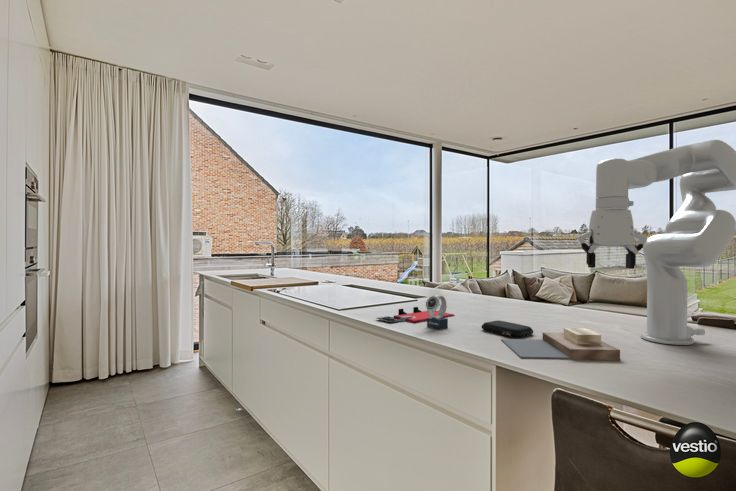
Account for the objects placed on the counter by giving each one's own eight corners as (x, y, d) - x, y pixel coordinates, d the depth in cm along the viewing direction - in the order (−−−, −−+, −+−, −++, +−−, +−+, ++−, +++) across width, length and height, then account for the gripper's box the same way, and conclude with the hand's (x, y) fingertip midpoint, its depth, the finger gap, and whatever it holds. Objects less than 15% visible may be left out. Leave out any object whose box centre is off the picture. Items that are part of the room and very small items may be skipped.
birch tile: (585, 337, 110) (585, 328, 110) (600, 344, 102) (601, 334, 102) (563, 336, 110) (563, 327, 110) (577, 344, 102) (577, 334, 102)
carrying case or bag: (476, 331, 129) (515, 341, 117) (476, 322, 129) (515, 331, 117) (497, 327, 135) (536, 336, 123) (497, 318, 135) (536, 326, 123)
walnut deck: (584, 341, 115) (584, 333, 115) (620, 359, 97) (620, 349, 97) (542, 340, 115) (542, 332, 115) (570, 359, 97) (570, 349, 97)
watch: (423, 327, 134) (423, 295, 134) (438, 324, 139) (438, 293, 139) (436, 330, 129) (436, 297, 129) (451, 326, 135) (451, 295, 135)
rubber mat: (542, 340, 115) (542, 339, 115) (570, 359, 97) (570, 357, 97) (501, 340, 116) (501, 339, 116) (520, 358, 98) (520, 356, 98)
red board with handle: (372, 319, 148) (399, 327, 136) (372, 312, 148) (399, 319, 136) (426, 312, 167) (454, 318, 155) (426, 305, 167) (454, 311, 155)
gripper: (639, 206, 109) (638, 268, 109) (572, 206, 111) (571, 266, 111) (654, 203, 101) (653, 269, 101) (582, 203, 104) (581, 267, 104)
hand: (610, 268), depth 106 cm, fingers open, 9 cm apart
